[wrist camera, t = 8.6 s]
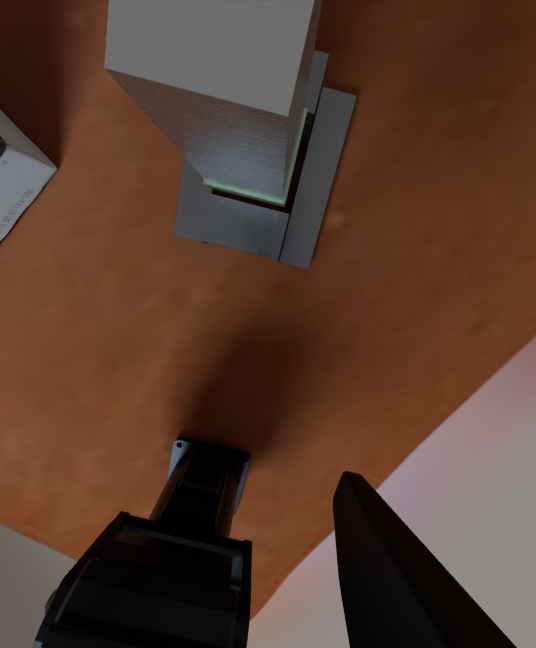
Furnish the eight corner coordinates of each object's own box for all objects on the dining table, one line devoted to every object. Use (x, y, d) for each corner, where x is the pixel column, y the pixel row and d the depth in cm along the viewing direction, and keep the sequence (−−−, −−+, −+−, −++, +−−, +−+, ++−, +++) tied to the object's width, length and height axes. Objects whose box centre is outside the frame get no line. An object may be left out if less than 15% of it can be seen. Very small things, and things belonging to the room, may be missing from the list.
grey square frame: (306, 268, 18) (314, 271, 14) (178, 236, 18) (150, 229, 14) (351, 106, 16) (377, 52, 12) (204, 67, 15) (178, -1, 11)
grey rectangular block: (284, 209, 14) (293, 125, 6) (208, 189, 14) (96, 73, 5) (305, 121, 13) (357, -151, 4) (224, 100, 13) (116, -220, 4)
